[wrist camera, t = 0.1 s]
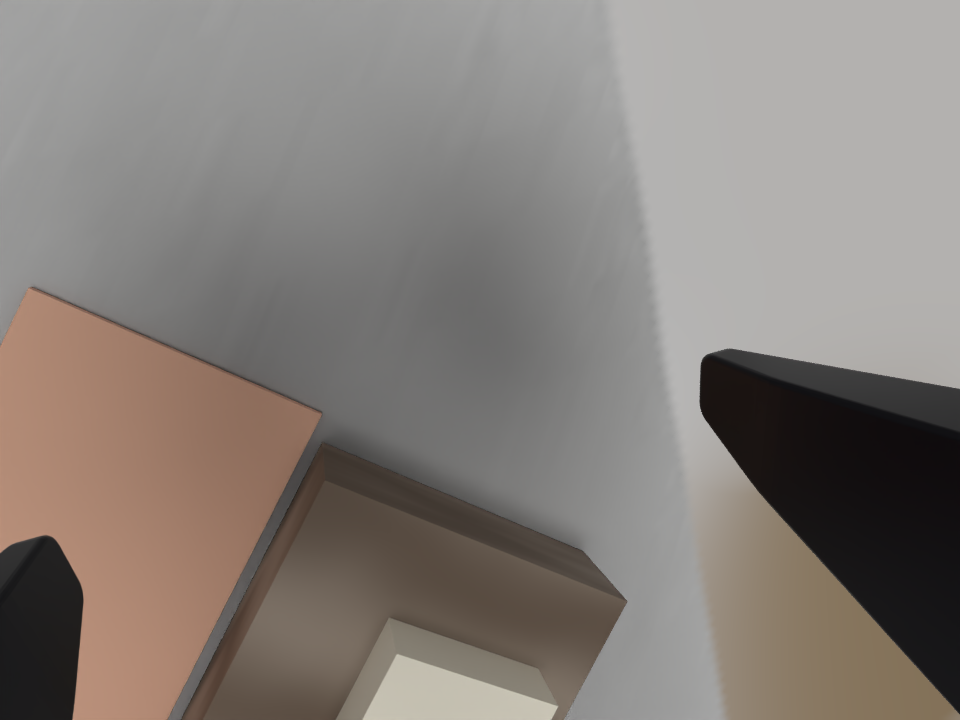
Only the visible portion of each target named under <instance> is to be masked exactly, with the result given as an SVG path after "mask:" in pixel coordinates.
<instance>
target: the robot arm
mask: <svg viewBox="0 0 960 720" xmlns="http://www.w3.org/2000/svg"><path fill="white" fill-rule="evenodd" d="M700 372H701V374H700V408H701V412H702V414H703V416H704V418H705V420H706V421H707V422H708V424H709V425H710V427H711V428H712V429H713V431H714V432H715V433H716V435H717V436H718V438H719V439H720V440H721V442H722V443H723V444H724V446H725V447H726V448H727V450H728V451H729V453H730V454H731V455H732V457H733V458H734V459H735V461H736V462H737V464H738V465H739V466H740V468H741V469H742V470H743V472H744V473H745V475H746V476H747V477H748V479H749V480H750V481H751V483H752V484H753V485H754V486H755V488H756V489H757V490H758V492H759V493H760V494H761V495H762V496H763V497H764V499H765V500H766V501H767V502H768V503H769V504H770V506H771V507H772V508H773V509H774V510H775V511H776V512H777V513H778V514H779V516H780V517H781V518H782V519H783V520H784V521H785V522H786V523H787V524H788V525H789V527H790V528H791V529H792V530H793V531H794V532H795V533H796V534H797V535H798V537H800V539H801V540H802V541H803V542H804V543H805V544H806V545H807V546H808V548H810V550H811V551H812V552H813V553H814V554H815V555H816V556H817V557H818V558H819V560H820V561H821V562H822V563H823V564H824V565H825V566H826V567H827V568H828V570H829V571H830V572H831V573H832V574H833V575H834V576H835V577H836V578H837V580H838V581H839V582H840V583H841V584H842V585H843V586H844V587H845V588H846V589H847V591H848V592H849V593H850V594H851V595H852V596H853V597H854V598H855V599H856V601H857V602H858V603H859V604H860V605H861V606H862V607H863V608H864V609H865V610H866V611H867V613H868V614H869V615H870V616H871V617H872V618H873V619H874V620H875V621H876V622H877V624H878V625H879V626H880V627H881V628H882V629H883V630H884V631H885V633H887V635H888V636H889V637H890V638H891V639H892V640H893V641H894V642H895V644H896V645H897V646H898V647H899V648H900V649H901V650H902V651H903V652H904V653H905V655H906V656H907V657H908V658H909V659H910V660H911V661H912V662H913V663H914V665H916V667H917V668H918V669H919V670H920V671H921V672H922V673H923V674H924V675H925V677H926V678H927V679H928V680H929V681H930V682H931V683H932V684H933V685H934V686H935V688H936V689H937V690H938V691H939V692H940V693H941V694H942V695H943V697H944V698H946V700H947V701H948V702H949V703H950V704H951V705H952V706H953V707H954V709H955V710H956V711H957V712H958V713H959V714H960V389H957V388H951V387H946V386H940V385H934V384H929V383H923V382H917V381H912V380H906V379H900V378H895V377H889V376H883V375H878V374H872V373H866V372H861V371H855V370H849V369H844V368H838V367H832V366H826V365H821V364H815V363H810V362H804V361H798V360H793V359H786V358H781V357H776V356H770V355H764V354H759V353H753V352H747V351H742V350H736V349H725V350H721V351H718V352H714V353H710V354H707V355H706V356H705V357H704V358H703V359H702V362H701V371H700ZM83 604H84V597H83V590H82V587H81V584H80V581H79V579H78V578H77V576H76V574H75V572H74V570H73V569H72V567H71V565H70V563H69V561H68V560H67V558H66V556H65V554H64V552H63V551H62V549H61V547H60V545H59V544H58V542H57V541H56V540H55V539H54V538H53V537H51V536H48V535H43V536H38V537H35V538H31V539H27V540H24V541H20V542H16V543H14V544H12V545H10V546H8V547H7V548H6V549H4V550H3V551H2V552H1V553H0V720H72V719H73V712H74V704H75V695H76V684H77V672H78V661H79V649H80V638H81V627H82V615H83Z"/></svg>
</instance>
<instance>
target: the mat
mask: <svg viewBox="0 0 960 720" xmlns="http://www.w3.org/2000/svg"><path fill="white" fill-rule="evenodd" d="M321 416H322V413H321V412H319V411H317V410H314V409H312V408H310V407H307V406H305V405H303V404H300V403H298V402H296V401H294V400H291V399H289V398H287V397H284V396H282V395H280V394H277V393H275V392H273V391H271V390H268V389H266V388H264V387H261V386H259V385H257V384H254V383H252V382H250V381H247V380H245V379H243V378H241V377H238V376H236V375H234V374H231V373H229V372H227V371H224V370H222V369H220V368H217V367H215V366H213V365H211V364H208V363H206V362H204V361H201V360H199V359H197V358H194V357H192V356H190V355H187V354H185V353H183V352H181V351H178V350H176V349H174V348H171V347H169V346H167V345H164V344H162V343H160V342H157V341H155V340H153V339H151V338H148V337H146V336H144V335H141V334H139V333H137V332H134V331H132V330H130V329H127V328H125V327H123V326H121V325H118V324H116V323H114V322H111V321H109V320H107V319H104V318H102V317H100V316H98V315H95V314H93V313H91V312H88V311H86V310H84V309H81V308H79V307H77V306H74V305H72V304H70V303H68V302H65V301H63V300H61V299H58V298H56V297H54V296H51V295H49V294H47V293H44V292H42V291H40V290H38V289H35V288H33V287H30V288H28V290H27V292H26V294H25V296H24V298H23V300H22V302H21V304H20V306H19V308H18V310H17V313H16V315H15V317H14V319H13V321H12V323H11V325H10V327H9V329H8V331H7V333H6V335H5V338H4V340H3V342H2V344H1V346H0V553H1V552H2V551H3V550H4V549H6V548H7V547H8V546H10V545H12V544H14V543H16V542H20V541H24V540H27V539H31V538H35V537H38V536H43V535H48V536H51V537H53V538H54V539H55V540H56V541H57V542H58V544H59V545H60V547H61V549H62V551H63V552H64V554H65V556H66V558H67V560H68V561H69V563H70V565H71V567H72V569H73V570H74V572H75V574H76V576H77V578H78V579H79V581H80V584H81V587H82V590H83V597H84V604H83V615H82V627H81V638H80V649H79V661H78V672H77V684H76V695H75V704H74V712H73V719H72V720H167V719H168V717H169V715H170V713H171V711H172V709H173V707H174V705H175V703H176V701H177V699H178V697H179V695H180V693H181V691H182V689H183V687H184V686H185V684H186V682H187V680H188V678H189V676H190V674H191V672H192V670H193V668H194V666H195V664H196V662H197V660H198V658H199V656H200V654H201V652H202V650H203V648H204V646H205V644H206V642H207V640H208V638H209V636H210V634H211V632H212V630H213V628H214V626H215V624H216V622H217V621H218V619H219V617H220V615H221V613H222V611H223V609H224V607H225V605H226V603H227V601H228V599H229V597H230V595H231V593H232V591H233V589H234V587H235V585H236V583H237V581H238V579H239V577H240V575H241V573H242V571H243V569H244V567H245V565H246V563H247V561H248V559H249V557H250V555H251V554H252V552H253V550H254V548H255V546H256V544H257V542H258V540H259V538H260V536H261V534H262V532H263V530H264V528H265V526H266V524H267V522H268V520H269V518H270V516H271V514H272V512H273V510H274V508H275V506H276V504H277V502H278V500H279V498H280V496H281V494H282V492H283V490H284V489H285V487H286V485H287V483H288V481H289V479H290V477H291V475H292V473H293V471H294V469H295V467H296V465H297V463H298V461H299V459H300V457H301V455H302V453H303V451H304V449H305V447H306V445H307V443H308V441H309V439H310V437H311V435H312V433H313V431H314V429H315V427H316V425H317V424H318V422H319V420H320V418H321Z"/></svg>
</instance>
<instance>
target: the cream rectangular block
mask: <svg viewBox="0 0 960 720" xmlns="http://www.w3.org/2000/svg"><path fill="white" fill-rule="evenodd" d="M557 708H558V705H557V703H556V701H555V699H554V697H553V695H552V694H551V692H550V690H549V688H548V686H547V684H546V682H545V680H544V679H543V677H542V675H541V673H540V671H539V669H538V668H535V667H532V666H529V665H526V664H523V663H520V662H517V661H514V660H512V659H509V658H506V657H503V656H500V655H497V654H494V653H491V652H488V651H485V650H482V649H479V648H476V647H474V646H471V645H468V644H465V643H462V642H459V641H456V640H453V639H450V638H447V637H444V636H441V635H439V634H436V633H433V632H430V631H427V630H424V629H421V628H418V627H415V626H412V625H409V624H406V623H403V622H401V621H398V620H395V619H392V618H388V620H387V622H386V624H385V626H384V628H383V630H382V632H381V634H380V636H379V638H378V640H377V642H376V643H375V645H374V647H373V649H372V651H371V653H370V655H369V657H368V659H367V661H366V663H365V665H364V666H363V668H362V670H361V672H360V674H359V676H358V678H357V680H356V682H355V684H354V686H353V688H352V690H351V691H350V693H349V695H348V697H347V699H346V701H345V703H344V705H343V707H342V709H341V711H340V713H339V714H338V716H337V718H336V720H551V719H552V717H553V716H554V714H555V712H556V710H557Z"/></svg>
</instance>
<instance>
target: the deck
mask: <svg viewBox="0 0 960 720" xmlns="http://www.w3.org/2000/svg"><path fill="white" fill-rule="evenodd" d="M626 603H627V600H626V599H625V598H624V597H623V596H622V595H621V594H620V592H619V591H618V590H617V589H616V588H615V587H614V586H613V584H612V583H611V582H610V581H609V580H608V579H607V578H606V576H605V575H604V574H603V573H602V572H601V571H600V570H599V569H598V567H597V566H596V565H595V564H594V563H593V562H592V561H591V559H590V558H589V557H588V556H587V555H586V554H585V553H584V552H583V551H581V550H579V549H576V548H574V547H571V546H569V545H567V544H564V543H562V542H559V541H557V540H555V539H552V538H550V537H548V536H545V535H543V534H540V533H538V532H536V531H533V530H531V529H528V528H526V527H524V526H521V525H519V524H516V523H514V522H512V521H509V520H507V519H505V518H502V517H500V516H497V515H495V514H493V513H490V512H488V511H485V510H483V509H481V508H478V507H476V506H474V505H471V504H469V503H466V502H464V501H462V500H459V499H457V498H454V497H452V496H450V495H447V494H445V493H442V492H440V491H438V490H435V489H433V488H431V487H428V486H426V485H423V484H421V483H419V482H416V481H414V480H411V479H409V478H407V477H404V476H402V475H399V474H397V473H395V472H392V471H390V470H388V469H385V468H383V467H380V466H378V465H376V464H373V463H371V462H368V461H366V460H364V459H361V458H359V457H357V456H354V455H352V454H349V453H347V452H345V451H342V450H340V449H337V448H335V447H333V446H330V445H328V444H325V443H323V442H322V443H321V445H320V447H319V449H318V451H317V453H316V455H315V457H314V459H313V461H312V463H311V465H310V467H309V469H308V471H307V473H306V475H305V477H304V479H303V481H302V483H301V485H300V487H299V489H298V490H297V492H296V494H295V496H294V498H293V500H292V502H291V504H290V506H289V508H288V510H287V512H286V514H285V516H284V518H283V520H282V522H281V524H280V526H279V528H278V530H277V532H276V534H275V536H274V538H273V540H272V542H271V544H270V546H269V547H268V549H267V551H266V553H265V555H264V557H263V559H262V561H261V563H260V565H259V567H258V569H257V571H256V573H255V575H254V577H253V579H252V581H251V583H250V585H249V587H248V589H247V591H246V593H245V595H244V597H243V599H242V601H241V603H240V605H239V606H238V608H237V610H236V612H235V614H234V616H233V618H232V620H231V622H230V624H229V626H228V628H227V630H226V632H225V634H224V636H223V638H222V640H221V642H220V644H219V646H218V648H217V650H216V652H215V654H214V656H213V658H212V660H211V662H210V663H209V665H208V667H207V669H206V671H205V673H204V675H203V677H202V679H201V681H200V683H199V685H198V687H197V689H196V691H195V693H194V695H193V697H192V699H191V701H190V703H189V705H188V707H187V709H186V711H185V713H184V715H183V717H182V719H181V720H336V718H337V716H338V714H339V713H340V711H341V709H342V707H343V705H344V703H345V701H346V699H347V697H348V695H349V693H350V691H351V690H352V688H353V686H354V684H355V682H356V680H357V678H358V676H359V674H360V672H361V670H362V668H363V666H364V665H365V663H366V661H367V659H368V657H369V655H370V653H371V651H372V649H373V647H374V645H375V643H376V642H377V640H378V638H379V636H380V634H381V632H382V630H383V628H384V626H385V624H386V622H387V620H388V618H392V619H395V620H398V621H401V622H403V623H406V624H409V625H412V626H415V627H418V628H421V629H424V630H427V631H430V632H433V633H436V634H439V635H441V636H444V637H447V638H450V639H453V640H456V641H459V642H462V643H465V644H468V645H471V646H474V647H476V648H479V649H482V650H485V651H488V652H491V653H494V654H497V655H500V656H503V657H506V658H509V659H512V660H514V661H517V662H520V663H523V664H526V665H529V666H532V667H535V668H538V669H539V671H540V673H541V675H542V677H543V679H544V680H545V682H546V684H547V686H548V688H549V690H550V692H551V694H552V695H553V697H554V699H555V701H556V703H557V705H558V708H557V710H556V712H555V714H554V716H553V717H552V719H551V720H564V718H565V716H566V714H567V712H568V711H569V709H570V707H571V705H572V703H573V701H574V699H575V698H576V696H577V694H578V692H579V690H580V688H581V686H582V685H583V683H584V681H585V679H586V677H587V675H588V673H589V672H590V670H591V668H592V666H593V664H594V662H595V660H596V659H597V657H598V655H599V653H600V651H601V649H602V648H603V646H604V644H605V642H606V640H607V638H608V636H609V635H610V633H611V631H612V629H613V627H614V625H615V623H616V622H617V620H618V618H619V616H620V614H621V612H622V610H623V609H624V607H625V605H626Z"/></svg>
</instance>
